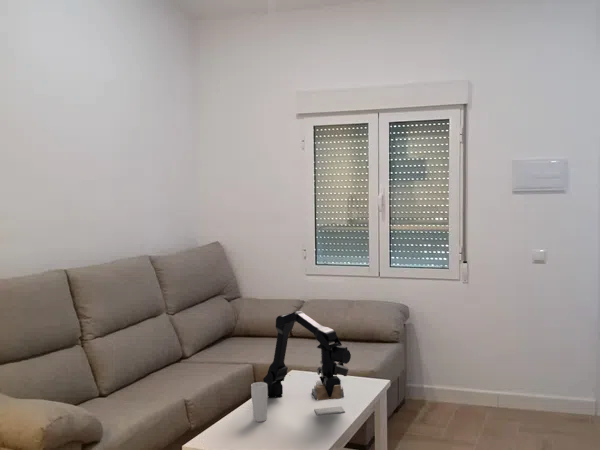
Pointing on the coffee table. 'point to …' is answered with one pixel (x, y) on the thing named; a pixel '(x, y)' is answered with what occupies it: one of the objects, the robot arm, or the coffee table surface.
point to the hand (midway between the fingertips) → (329, 395)
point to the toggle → (319, 383)
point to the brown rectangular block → (323, 395)
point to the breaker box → (315, 392)
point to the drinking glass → (259, 400)
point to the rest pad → (329, 410)
